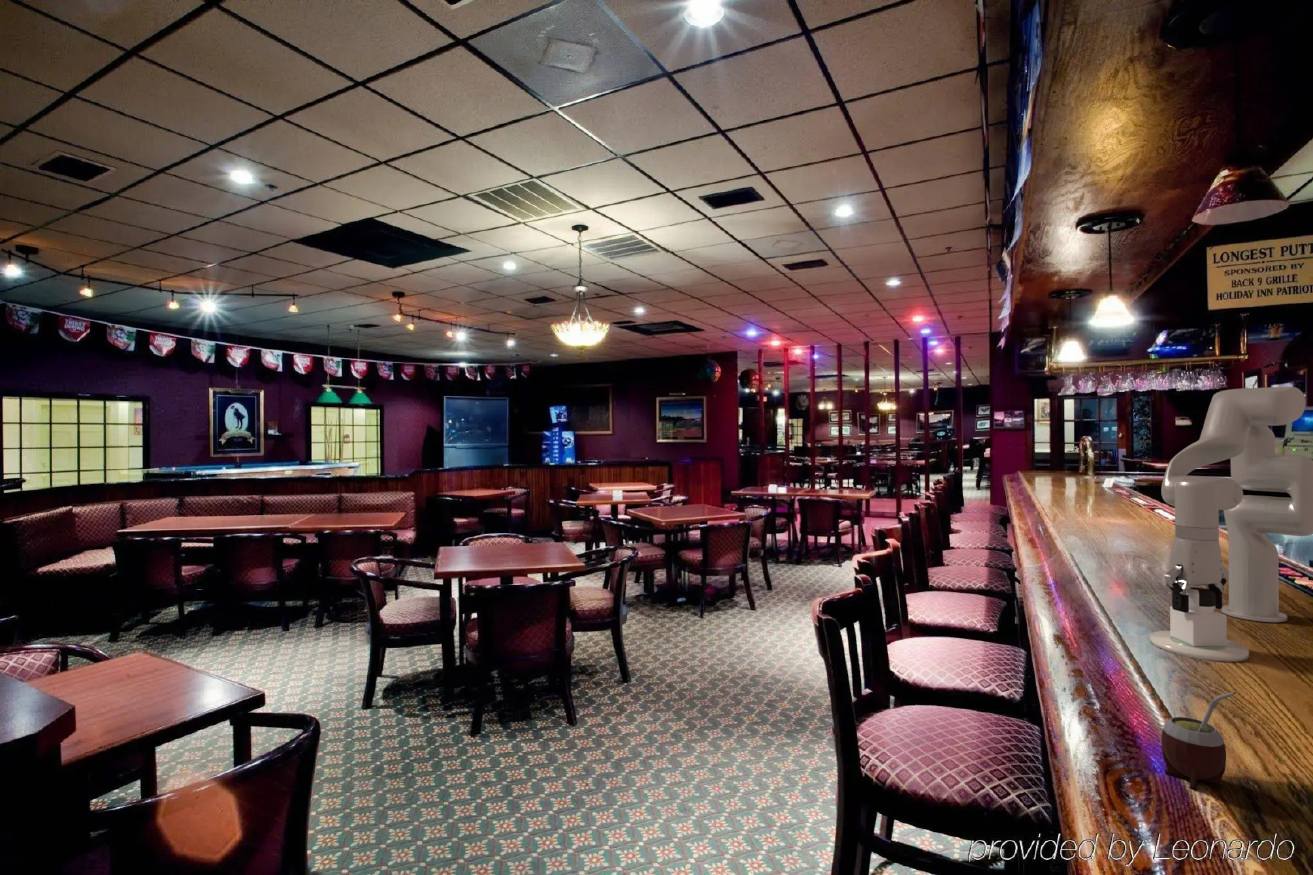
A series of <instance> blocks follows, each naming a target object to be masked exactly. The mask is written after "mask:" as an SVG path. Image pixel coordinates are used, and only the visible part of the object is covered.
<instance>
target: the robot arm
mask: <svg viewBox="0 0 1313 875" xmlns="http://www.w3.org/2000/svg"><path fill="white" fill-rule="evenodd" d="M1305 397H1306V396H1305V395H1304V393H1303V392H1302V391H1301V390H1300V388H1298V387H1294V386H1273V387H1251V388H1250V387H1247V388H1245V387H1244V388H1233V389H1226V390H1220V391H1218V392H1216V393H1214V394H1213V396H1212V398H1211V401H1210V404H1209V406H1208V410H1207V412H1206V416H1205V419H1204V423H1203V428H1202V430H1201V433H1200V436H1199V439H1198V440H1197V441H1196V442H1193V443H1191V444H1190V445H1187V447H1185V448H1183V449H1182V450H1181V451H1179V452H1178V453H1177V454H1175V456H1173V458H1171V459H1170V461H1169V462H1168V464H1167V467H1166V469H1165V470H1166V471H1165V473H1164V475H1163V478H1162V479H1163V480H1162V483H1161V487H1160V488H1161V490H1160V491H1161V494H1160V495H1161V496H1162V499H1163V501H1164V502H1165V503H1166V504H1168V505H1170V506H1171V507H1174V537H1175V539H1174V538H1173V539H1172V540H1173V541H1172V544H1171V547H1170V548H1171V549H1170V552H1169V553H1170V555H1169V562H1168V563H1169V567H1168V571H1167V572H1166V573H1165V574H1164V579H1165V582H1166V586H1167V587H1168V588H1169V592H1170V593H1171V606H1172V609H1173V610H1177V611H1181V612H1184V613H1188V612H1189V595H1186V593H1187V591H1188V590H1189V588H1190V587H1197V586H1198V587H1199V586H1206V587H1205V588H1204V589H1208V590H1210V591H1212V592H1214V593H1215V610H1216V609H1217V610H1220V611H1221V612H1222V614H1225V615H1226V616H1227V615H1228V616H1231V617H1234V618H1237V619H1243V620H1248V621H1255V622H1263V623H1284V622H1287V621H1288V615H1287V614H1286V613H1284V612H1282V611H1280V610H1279V609H1280V607H1279V606H1280V605H1279V604H1280V602H1279V601H1280V600H1279V595H1280V594H1279V583H1280V582H1279V577H1280V576H1279V575H1280V574H1279V550H1278V547H1277V546H1276V545H1275V544H1274V543H1273V541H1272V540H1271V539H1270V538H1269V537H1268V536H1267V535H1271V534H1272V535H1281V536H1290V537H1291V536H1294V537H1308V536H1309V537H1310V536H1312V535H1313V459H1311V458H1310V457H1308V456H1306V455H1299V454H1277V453H1276V436H1275V434H1274V432H1273V430H1272V429H1271V428H1270V426H1274V427H1275V426H1286V425H1289V424H1290V423H1292V422H1295V421H1297V420H1299V419H1300V418H1301V417H1302V416H1303V414H1304V412H1305V409H1306V398H1305ZM1226 460H1230V477H1231V478H1229V477H1221V476H1204V475H1203V476H1201V475H1188V474H1190V473H1191V472H1193V471H1194V470H1196V469H1199V468H1202V467H1205V466H1208V465H1211V464H1214V463H1215V464H1216V463H1219V462H1223V461H1226ZM1243 490H1246V491H1247V490H1248V491H1259V492H1260V491H1261V492H1273V493H1275V492H1277V493H1279V492H1280V493H1287V494H1289V496H1290V497H1285V496H1284V497H1281V496H1279V497H1278V496H1268V495H1267V496H1266V495H1251V494H1248V495H1247V494H1246V495H1245V494H1244V491H1243ZM1220 510H1221V511H1223V517H1224V522H1225V525H1226V531H1227V532H1226V533H1227V539H1228V540H1227V541H1228V542H1227V543H1228V569H1227V568H1226V567H1223V559H1222V551H1221V546H1220V527H1219V526H1220V524H1219V522H1220V519H1219V518H1220V514H1219V511H1220ZM1266 534H1267V535H1266ZM1227 578H1228V604H1226V605H1223V592H1224V591H1225V585H1226V584H1227ZM1181 585H1182V586H1181Z"/></svg>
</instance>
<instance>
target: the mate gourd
mask: <svg viewBox="0 0 1313 875" xmlns="http://www.w3.org/2000/svg"><path fill="white" fill-rule="evenodd" d="M1233 695H1237V692H1236V691H1233V692H1227V693H1224V694H1220V695H1217V696H1216V697H1214V698H1212V699H1211V700H1210V702H1209V703H1208V708H1207V711H1206V713H1205V715H1204V717H1203V720H1199V719H1196V718H1191V717H1187V716H1186V717H1185V716H1184V717H1183V716H1174V717H1171V718H1169V719H1168V720H1167V721H1165V723H1164V724H1163V728H1162V731H1161V751H1162V753H1161V754H1162V757H1163V761H1164V763H1165V766H1166V769H1164V773H1165V775H1167V776H1169V777H1174V778H1177V779H1181V780H1185V781H1188V782H1189V790H1193V791H1196V792H1197V791H1198V784H1200V785H1205V786H1208V787H1211V788H1212V787H1213V788H1216V789H1220V790H1222V789H1223V786H1224V784H1223V783H1222V782H1221V781H1222V779H1223V776H1224V774H1225V772H1226V771H1225V770H1226V765H1227V764H1226V763H1227V751H1226V745H1225V741H1224V740H1225V739H1224V738H1223V735H1222V734H1221V733H1220V732H1219V730H1218V729H1217V728H1216V727H1215V726H1213V725H1211V724H1210V723H1208V722H1209V721H1210V718H1211V716H1212V714H1213V712H1214V710H1215V709H1216V708H1217V707H1218V705H1219V702H1220V701H1223V699H1227V698H1229V697H1232V696H1233Z"/></svg>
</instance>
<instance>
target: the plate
mask: <svg viewBox="0 0 1313 875" xmlns="http://www.w3.org/2000/svg"><path fill="white" fill-rule="evenodd" d="M1149 643H1150V644H1151V645H1152V646H1154V647H1156V648H1158V649H1160V648H1161V650H1162V649H1163V651H1166V652H1169V653H1172V654H1174V653H1176V654H1175V655H1179V656H1181V657H1185V658H1187V657H1188V658H1192V657H1193V658H1192V659H1197V660H1205V661H1213V662H1224V663H1227V662H1228V663H1229V662H1230V663H1233V662H1234V663H1235V662H1242V661H1246V660H1248V659H1249V657H1250V649H1248V647H1246V646H1244V645H1242V644H1241V643H1238V642H1237V641H1236V642H1235V641H1232V640H1229V639H1227V646H1226V647H1205V646H1192V645H1189V644H1187V643H1185V642H1183V641H1180V640H1178V639H1176V638H1173V637H1171V635H1170V630H1157V631H1154V632H1152V633H1150V634H1149Z"/></svg>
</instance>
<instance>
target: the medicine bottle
mask: <svg viewBox="0 0 1313 875" xmlns="http://www.w3.org/2000/svg"><path fill="white" fill-rule="evenodd" d="M1208 589H1209V588H1208ZM1208 589H1205V588H1203V587H1197V586H1191V587H1190V588H1189V590H1188V591H1187V593H1186V595H1189V612H1188V613H1184V612H1181V611H1177V610H1173V609H1172V605H1171V606H1170V607H1169V614H1170V615H1169V617H1170V619H1169V621H1170V623H1169V624H1170V626H1169V627H1170V630H1169V631H1170V635H1171V637H1173V638H1176V639H1178V640H1180V641H1183V642H1185V643H1187V644H1189V645H1192V646H1205V647H1226V646H1227V640H1228V638H1227V637H1228V636H1227V635H1228V634H1227V633H1228V632H1227V630H1228V628H1227V624H1228V623H1227V621H1228V620H1227V614H1225V613H1223V612H1222V613H1221V612H1220V611H1216V608H1215V593H1214V592H1212V591H1210V590H1208Z"/></svg>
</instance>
